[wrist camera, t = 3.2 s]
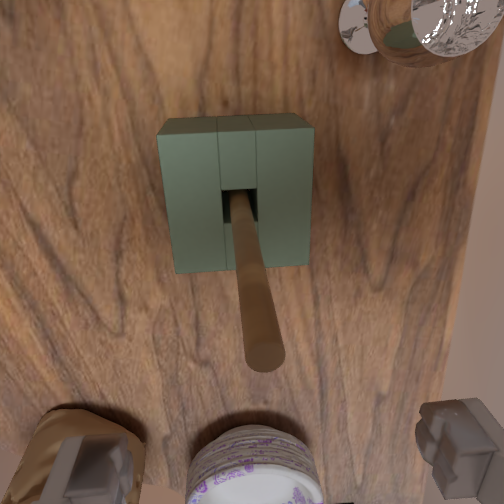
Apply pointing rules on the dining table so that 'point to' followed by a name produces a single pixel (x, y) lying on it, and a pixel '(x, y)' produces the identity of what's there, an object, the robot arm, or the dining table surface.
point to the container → (47, 446)
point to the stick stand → (237, 187)
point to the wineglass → (418, 28)
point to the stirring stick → (254, 290)
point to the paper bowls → (254, 470)
